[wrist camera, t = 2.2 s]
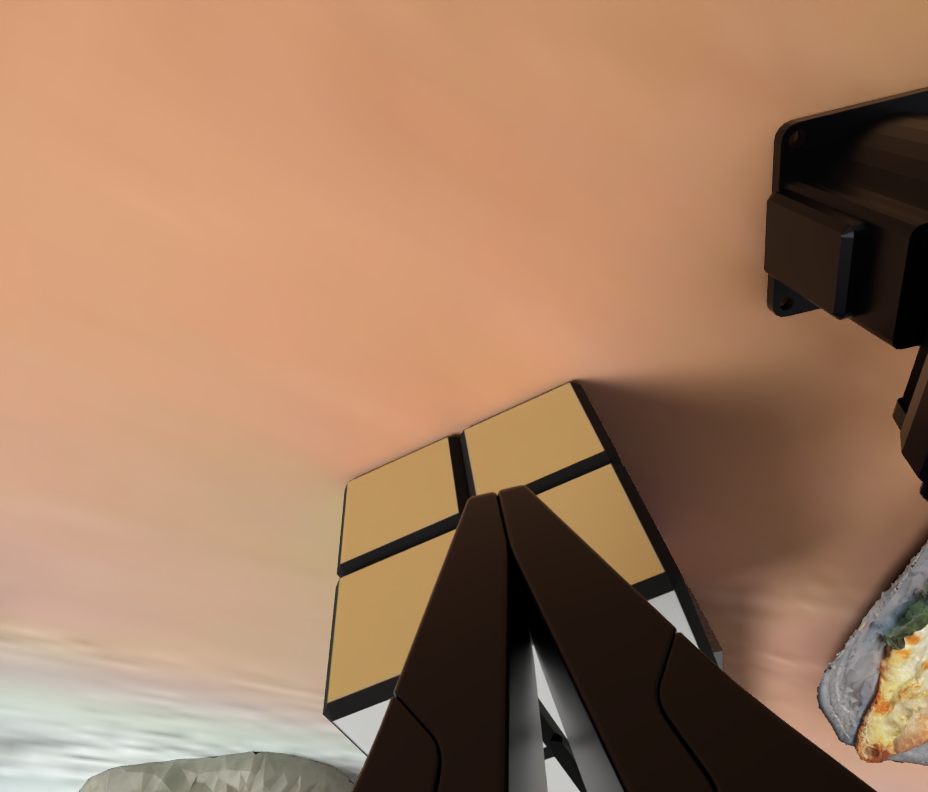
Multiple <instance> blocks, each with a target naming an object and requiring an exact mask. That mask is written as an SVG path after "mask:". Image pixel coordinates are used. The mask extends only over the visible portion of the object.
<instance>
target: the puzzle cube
mask: <svg viewBox="0 0 928 792" xmlns="http://www.w3.org/2000/svg"><path fill="white" fill-rule="evenodd" d="M519 485H525V486H526V487H528V488H529V489H530V490H531V491H532V492H533V493H534V494H535V495H536V496H537V497H538V498H539V499H541V500H542V501H543V502H544V503H545V504H546V505H547V506H548V507H549V508H550V509H551V510H552V511H553V512H554V513H555V514H556V515H557V516H558V517H560V518H561V519H562V520H563V521H564V522H565V523H566V524H567V525H568V526H569V527H570V528H571V529H572V530H573V531H574V532H575V533H576V534H577V535H579V536H580V537H581V538H582V539H583V540H584V541H585V542H586V543H587V544H588V545H589V546H590V547H591V548H592V549H593V550H594V551H595V552H596V553H598V554H599V555H600V556H601V557H602V558H603V559H604V560H605V561H606V562H607V563H608V564H609V565H610V566H611V567H612V568H613V569H614V570H615V571H617V572H618V573H619V574H620V575H621V576H622V577H623V578H624V579H625V580H626V581H627V582H628V583H629V584H630V585H631V586H632V587H633V588H634V589H635V590H637V591H638V592H639V593H640V594H641V595H642V596H643V597H644V598H645V599H646V600H647V601H648V602H649V603H650V604H651V605H652V606H653V607H654V608H656V609H657V610H658V611H659V612H660V613H661V614H662V615H663V616H664V617H665V618H666V619H667V620H668V621H669V622H670V623H671V624H672V625H673V626H675V627H676V629H677V633H678V632H681V633H682V634H683V635H684V636H685V637H687V638H688V639H689V640H690V641H691V642H692V643H693V644H694V645H695V646H696V647H697V648H698V649H699V650H700V651H701V652H702V653H703V654H704V655H706V656H707V657H708V658H709V659H710V660H711V661H712V662H713V663H715V664H716V665H717V666H718V664H717V661H716V659H715V656H714V654H713V651H712V649H711V646H710V644H709V641H708V639H707V636H706V634H705V632H704V629H703V627H702V624H701V622H700V619H699V617H698V614H697V612H696V609H695V607H694V604H693V602H692V599H691V597H690V594H689V592H688V589H687V587H686V584H685V582H684V579H683V577H682V575H681V573H680V571H679V569H678V567H677V565H676V563H675V561H674V559H673V558H672V556H671V554H670V552H669V550H668V548H667V546H666V544H665V542H664V541H663V539H662V537H661V535H660V533H659V531H658V529H657V527H656V525H655V524H654V522H653V520H652V518H651V516H650V514H649V512H648V510H647V508H646V507H645V505H644V503H643V501H642V499H641V497H640V495H639V493H638V491H637V490H636V488H635V486H634V484H633V482H632V480H631V478H630V476H629V474H628V473H627V471H626V469H625V467H624V466H623V465H622V463H621V460H620V458H619V456H618V453H617V451H616V450H615V448H614V446H613V444H612V442H611V440H610V439H609V437H608V435H607V433H606V431H605V429H604V427H603V426H602V424H601V422H600V420H599V418H598V416H597V414H596V413H595V411H594V409H593V407H592V405H591V403H590V401H589V400H588V398H587V396H586V394H585V392H584V390H583V389H582V387H581V385H579V384H575V383H572V382H569V383H567V384H564V385H562V386H560V387H558V388H555V389H553V390H551V391H549V392H547V393H544V394H542V395H540V396H538V397H536V398H533V399H531V400H529V401H527V402H525V403H522V404H520V405H518V406H516V407H514V408H511V409H509V410H507V411H505V412H502V413H500V414H498V415H496V416H494V417H491V418H489V419H487V420H485V421H483V422H480V423H478V424H476V425H474V426H472V427H469V428H467V429H465V430H463V433H462V435H461V438H460V441H459V439H455V438H451V437H446V438H444V439H442V440H440V441H438V442H435V443H433V444H431V445H429V446H426V447H424V448H422V449H420V450H418V451H415V452H413V453H411V454H409V455H407V456H404V457H402V458H400V459H398V460H396V461H393V462H391V463H389V464H387V465H385V466H382V467H380V468H378V469H376V470H373V471H371V472H369V473H367V474H365V475H362V476H360V477H358V478H356V479H354V480H351V481H349V482H348V483H347V486H346V489H345V494H344V504H343V515H342V525H341V536H340V546H339V557H338V568H337V575H338V576H339V577H340V578H339V581H338V584H337V586H336V592H335V602H334V612H333V621H332V631H331V641H330V650H329V660H328V670H327V680H326V689H325V699H324V709H323V715H324V716H325V717H326V718H327V719H328V720H329V721H330V722H332V723H333V724H334V725H335V726H336V727H337V728H338V729H339V730H340V731H341V732H342V733H343V734H344V735H345V736H346V737H347V738H348V739H349V740H350V741H351V742H352V743H353V744H355V745H356V746H357V747H358V748H359V749H360V750H361V751H362V752H363V753H364V754H365V755H366V756H368V754H369V751H370V749H371V747H372V744H373V742H374V740H375V737H376V735H377V732H378V730H379V728H380V725H381V723H382V720H383V717H384V715H385V712H386V709H387V707H388V704H389V702H390V699H391V698H392V697H395V696H394V689H395V687H396V684H397V682H398V679H399V676H400V674H401V671H402V669H403V666H404V663H405V661H406V658H407V656H408V653H409V650H410V648H411V645H412V643H413V640H414V637H415V635H416V632H417V630H418V627H419V624H420V622H421V619H422V617H423V614H424V612H425V609H426V606H427V604H428V601H429V599H430V596H431V593H432V591H433V588H434V586H435V583H436V580H437V578H438V575H439V573H440V570H441V567H442V565H443V562H444V560H445V557H446V554H447V552H448V549H449V547H450V544H451V541H452V539H453V536H454V534H455V531H456V528H457V526H458V523H459V521H460V518H461V515H462V513H463V510H464V508H465V505H466V503H467V500H468V499H469V498H470V497H472V496H476V495H480V494H484V493H489V492H495V493H496V494H497V496H498V492H499V491H500V490H502V489H506V488H510V487H514V486H519ZM529 631H530V630H529ZM530 636H531V634H530ZM531 642H532V638H531ZM532 648H533V656H534V664H535V673H536V683H537V692H538V702H539V712H540V721H541V731H542V740H543V750H544V759H545V769H546V778H547V788H548V792H587V790H586V788H585V785H584V782H583V780H582V777H581V774H580V771H579V769H578V766H577V763H576V760H575V758H574V755H573V752H572V750H571V747H570V744H569V741H568V739H567V736H566V733H565V731H564V728H563V725H562V722H561V720H560V717H559V714H558V711H557V709H556V706H555V703H554V701H553V698H552V695H551V692H550V690H549V687H548V684H547V682H546V679H545V676H544V673H543V671H542V668H541V665H540V662H539V660H538V657H537V654H536V651H535V648H534V645H533V642H532ZM718 667H719V666H718Z"/></svg>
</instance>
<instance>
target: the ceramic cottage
mask: <svg viewBox="0 0 928 792" xmlns="http://www.w3.org/2000/svg"><path fill="white" fill-rule="evenodd" d="M354 785H355V784H354V783H352V782H349V778H348V777H347V776H346V775H345V774H344V773H342V772H340V771H339V770H337V769H335V768H334V767H331V766H328V765H325V764H322V763H319V762H316V761H312V760H309V759H306V758H301V757H297V756H296V757H293V756H291V755H286V754H281V753H270V752H260V753H257V754H255V753H253V752H246V753H241V754H230V755H222V756H218V757H215V758H211V757H206V758H198V759H177V760H171V761H167V762H155V763H145V764H138V765H128V766H120V767H116V768H112V769H109V770H106V771H104V772H102V773H100V774H98V775H96V776H94V777H91V778H90V780H89V779H88V780H87V782H86V783H85V784H84V786H83V787H82V788H81V789H80V790H79V792H351V791H352V789H353V787H354Z"/></svg>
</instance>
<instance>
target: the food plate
mask: <svg viewBox="0 0 928 792" xmlns="http://www.w3.org/2000/svg"><path fill="white" fill-rule="evenodd" d="M922 548H923V549H921V552H919V553H917V556H915V557H913V558H914V559H913V558H912V559H911V563H910V564H909V565H907V566H906V569H905V571H904V572H903V573H902V575H898V576H899V577H898V579H897V580H896V581H895V583H891V584H892V586H891V587H890V589H889V590H886V592H882V594H881V598H880V599H879V600H877V601H876V602H875V603H876V604H875V605H874V606H873V607H872V608H871V610H869V612H868V614H867V615H866V616H865V617H863V619H862V624H861V625H860V627H858V630H856V629H855V632H854V633H853V635H852V636H850V638H849V640H848V641H847V643H846V644H845V647H844V649H843V650H841V651H840V652H839V653H838V654H836V655H837V657H836V659H835V660H834V661H833V662H832V663H829V666H831V667H832V668H828V667H829V666H828V667H827V668H826V670H825V671H824V672H825V674H824V676H823V679H822V681H821V683H820V686H819V687H817V690H818V691H817V692H818V695H817V699H818V703H819V709H821V710H822V712H823V713H824V715H825V717H826V718H827V720H828V721H829V723H830V724H831V726H832V727H833V730H834V731H835V732H836V735H837V737H838V739H839V740H840V741H841V742H844V743H845V744H846V745H847V744H848V745H851V746H854V747H855V749H856V751H857V753H858V755H859V756H860V759H861V760H864V761H866V762H867V763H881V762H883V761H884V760H885V761H886V760H892V761H895V762H901V763H903V762H908V763H914V764H920V765H926V766H927V765H928V541H927V542H926V544H925V545H924V546H923V547H922Z"/></svg>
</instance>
